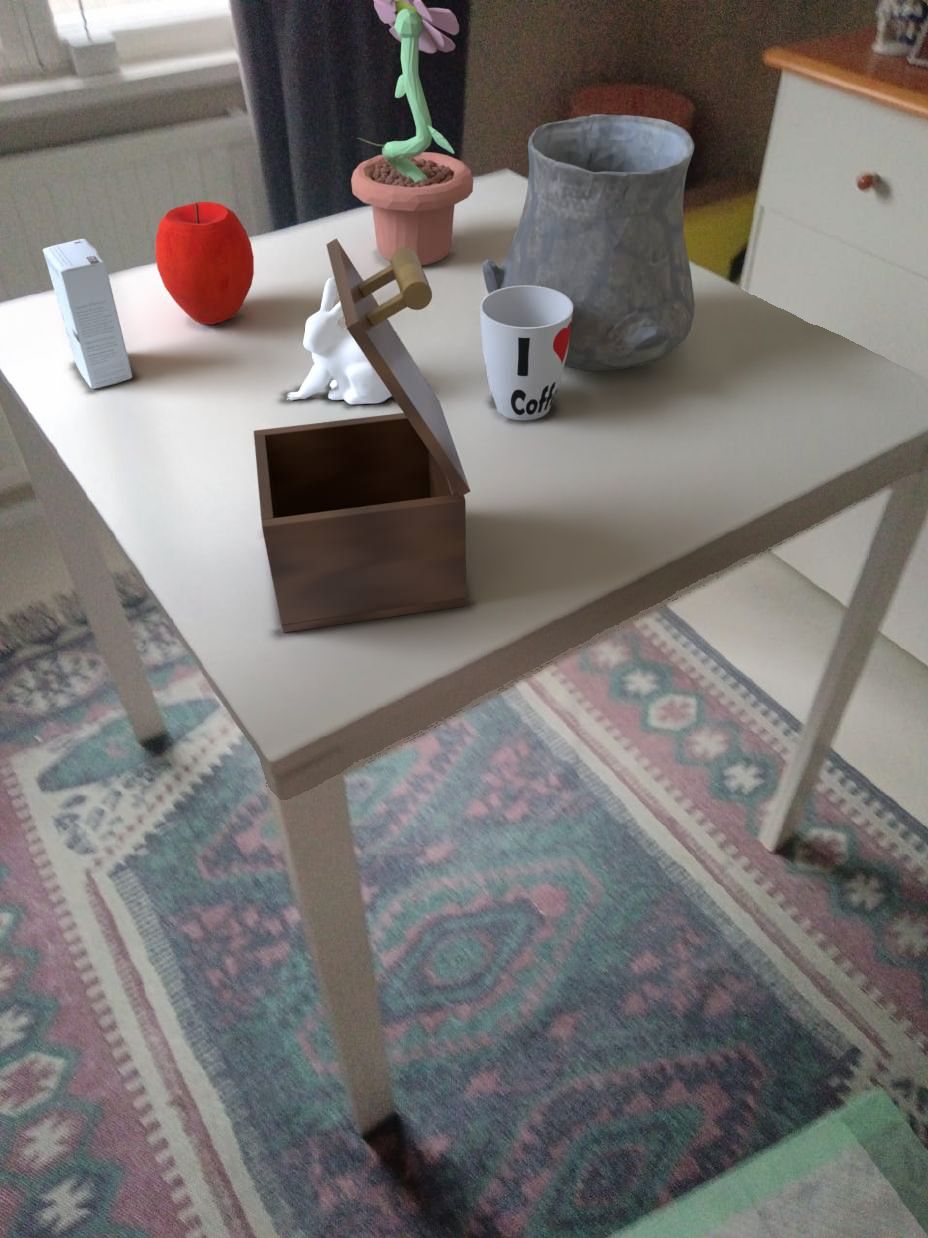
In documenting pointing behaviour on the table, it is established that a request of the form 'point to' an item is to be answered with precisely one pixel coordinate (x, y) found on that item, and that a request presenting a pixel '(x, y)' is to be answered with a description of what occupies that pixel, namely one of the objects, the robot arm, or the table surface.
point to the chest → (358, 522)
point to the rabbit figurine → (337, 358)
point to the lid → (397, 347)
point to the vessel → (607, 236)
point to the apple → (205, 260)
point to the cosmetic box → (88, 312)
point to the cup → (525, 347)
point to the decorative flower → (414, 149)
